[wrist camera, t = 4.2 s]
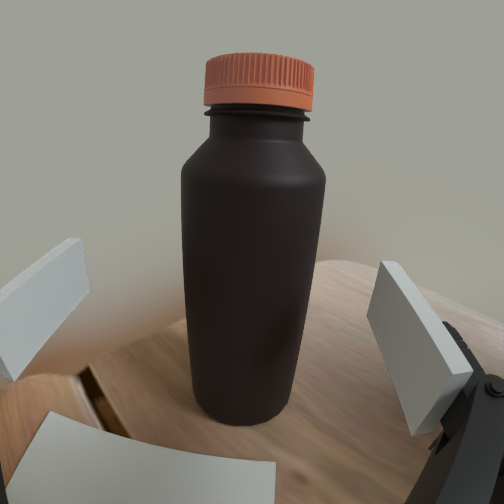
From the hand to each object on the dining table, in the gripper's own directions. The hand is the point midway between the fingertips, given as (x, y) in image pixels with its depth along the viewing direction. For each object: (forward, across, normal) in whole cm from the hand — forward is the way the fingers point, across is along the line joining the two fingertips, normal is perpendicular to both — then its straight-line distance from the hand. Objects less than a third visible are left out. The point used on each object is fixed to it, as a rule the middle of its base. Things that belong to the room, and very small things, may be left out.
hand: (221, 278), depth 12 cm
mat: (-15, -4, -11) cm, 19 cm away
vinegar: (+4, +1, -11) cm, 12 cm away
